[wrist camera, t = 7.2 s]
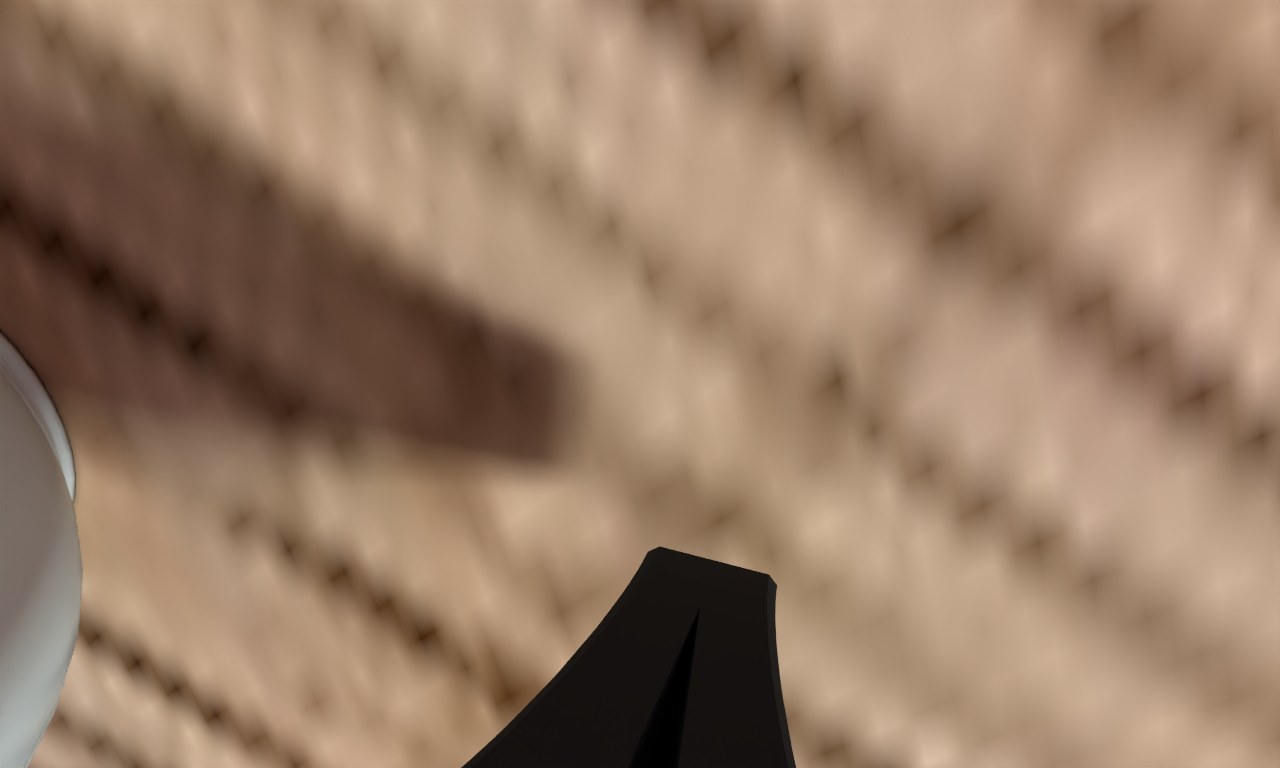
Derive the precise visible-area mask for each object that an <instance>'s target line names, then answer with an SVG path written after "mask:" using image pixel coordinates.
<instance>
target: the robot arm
mask: <svg viewBox="0 0 1280 768" xmlns="http://www.w3.org/2000/svg"><path fill="white" fill-rule="evenodd" d="M776 590H777V585H776V583H775V582H774V581H773V579H772V578H771V577H770V575H768V574H764V573H760V572H757V571H753V570H749V569H745V568H741V567H737V566H733V565H729V564H726V563H722V562H718V561H714V560H710V559H706V558H702V557H698V556H695V555H691V554H687V553H683V552H679V551H675V550H671V549H667V548H664V547H657V548H655V549H653V550H651V551H649V552H648V553H647V555H646V557H645V558H644V560H643V562H642V564H641V566H640V567H639V569H638V571H637V572H636V574H635V575H634V577H633V578H632V580H631V582H630V583H629V585H628V586H627V588H626V589H625V590H624V592H623V593H622V595H621V596H620V598H619V599H618V600H617V602H616V603H615V604H614V606H613V607H612V608H611V610H610V611H609V612H608V614H607V615H606V616H605V617H604V619H603V620H602V621H601V623H600V624H599V625H598V627H597V628H596V629H595V630H594V631H593V633H592V634H591V635H590V636H589V637H588V638H587V640H586V641H585V642H584V643H583V644H582V645H581V647H580V648H579V649H578V650H577V651H576V653H575V654H574V655H573V656H572V657H571V658H570V660H569V661H568V662H567V663H566V664H565V665H564V667H563V668H562V669H561V670H560V671H559V672H558V673H557V675H556V676H555V677H554V678H553V679H552V680H551V681H550V682H549V683H548V684H547V685H546V686H545V687H544V688H543V689H542V690H541V691H540V692H539V693H538V694H537V695H536V697H535V698H534V699H533V700H532V701H531V702H530V703H529V704H528V705H527V706H526V707H525V708H524V709H523V710H522V711H521V712H520V713H519V714H518V715H517V716H516V717H515V718H514V719H513V720H512V721H511V722H510V723H509V724H508V725H507V726H506V727H505V728H504V729H503V730H502V731H501V732H500V733H499V734H498V735H497V736H496V737H495V738H494V739H492V740H491V741H490V742H489V743H488V744H487V745H486V746H485V747H484V748H483V749H482V750H481V751H480V752H478V753H477V754H476V755H475V756H474V757H473V758H472V759H471V760H470V761H468V762H467V763H466V764H465V765H464V766H463V767H461V768H796V765H795V761H794V756H793V751H792V746H791V741H790V735H789V730H788V724H787V719H786V713H785V708H784V702H783V696H782V689H781V682H780V674H779V664H778V655H777V644H776V626H775V601H776Z"/></svg>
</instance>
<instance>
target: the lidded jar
mask: <svg viewBox="0 0 1280 768" xmlns="http://www.w3.org/2000/svg"><path fill="white" fill-rule="evenodd" d="M75 490H76V471H75V464H74V457H73V451H72V448H71V445H70V442H69V439H68V435H67V432H66V429H65V426H64V424H63V422H62V420H61V418H60V415H59V413H58V411H57V409H56V407H55V405H54V403H53V401H52V399H51V397H50V396H49V394H48V392H47V391H46V389H45V388H44V386H43V384H42V383H41V381H40V380H39V378H38V376H37V375H36V373H35V372H34V371H33V369H32V368H31V367H30V366H29V364H28V363H27V362H26V360H25V359H24V358H23V357H22V355H21V354H20V353H19V352H18V350H17V349H16V348H15V347H14V345H13V344H12V343H11V342H10V341H9V340H8V339H7V338H6V337H5V336H4V335H3V334H2V333H1V332H0V768H27V767H28V765H29V763H30V761H31V759H32V757H33V755H34V753H35V751H36V749H37V747H38V745H39V743H40V741H41V739H42V737H43V735H44V733H45V731H46V729H47V727H48V725H49V723H50V721H51V719H52V717H53V715H54V713H55V709H56V706H57V703H58V700H59V697H60V694H61V690H62V687H63V684H64V681H65V677H66V674H67V671H68V667H69V664H70V661H71V657H72V654H73V651H74V648H75V644H76V641H77V638H78V628H79V617H80V607H81V595H82V577H83V565H82V557H81V549H80V541H79V534H78V527H77V521H76V514H75V508H74V505H73V504H74V500H75Z"/></svg>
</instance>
